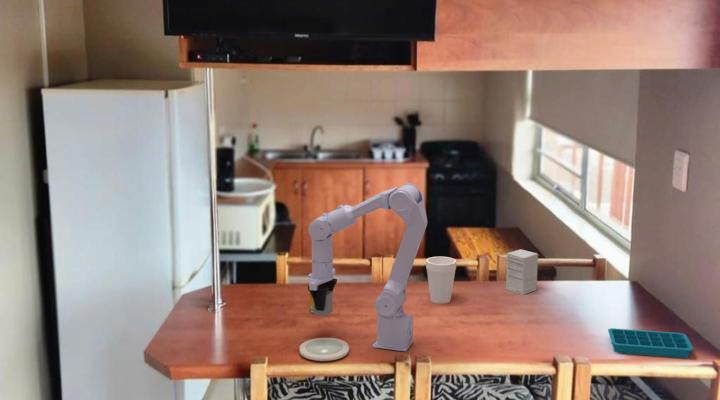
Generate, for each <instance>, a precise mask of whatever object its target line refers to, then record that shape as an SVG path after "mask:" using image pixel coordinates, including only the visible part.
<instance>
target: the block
mask: <svg viewBox="0 0 720 400" xmlns="http://www.w3.org/2000/svg"><path fill="white" fill-rule="evenodd" d="M313 306H314V313H313V316H318V317H329V315H331V314H332V312H333V293H332V291H327V294H326V299H325V307H324V310H323V311H320V310H316V308H315V304H314V300H313Z"/></svg>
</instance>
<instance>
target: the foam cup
mask: <svg viewBox="0 0 720 400" xmlns="http://www.w3.org/2000/svg"><path fill="white" fill-rule="evenodd" d="M425 268H426V274H427V282H428V289H429V298H430V301H431V302H432V303H435V304H441V305H442V304H449V303H450V302H451V299H452V293H453V288H454V287H453V286H454V283H455V281H454V280H455V274H456V270H457V260H456V259H455V258H452V257H449V256H441V255H439V256H432V257H428V258H427V259H425Z"/></svg>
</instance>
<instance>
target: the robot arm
mask: <svg viewBox="0 0 720 400" xmlns="http://www.w3.org/2000/svg"><path fill="white" fill-rule="evenodd" d="M379 209H383V210H386V211H390V210H392V211H393V212H394V213H395V214H396V215H397V216H398V217H400V219H402V221H403V222H404V225H405V226H406V228H405V231H404V233H403V236H402V239H401V242H400V246H399V247H398V251H397V252H396V253H397V254H396V256H395V259H394V262H393V264H392V268H391V271H390V273H389V276H388V279H387V282H385V284H384V287H383V290H382V291H381V294H379V295H378V297H376V299H375V300H374V308H375V310H376V313H377V315H376V317H377V318H376V319H377V323H376V326H377V329H376V330H377V331H376V335H377V336H376V338H377V339H376V341H375V342H374V343H373V344H372V348H377V349H385V350H392V351H400V352H407V351H408V349H409V348H410V346H411V345H412V344H413V343H414V318H413V315H412V314H411V315H410V314H408V313H406V312H405V310H404V307H403V304H405V302H406V299H407V293H406V291H407V290H406V289H407V286H408V284H407V281H408V279H409V276H410V274H411V271H412V269H413V265H414V262H415V260H416V257H417V254H418V251H419V248H420V245H421V242H422V240H423V236H424V234H425V232H426V228H427V226H428V217H427V216H428V215H427V212H426V207H425V196H424V194H423V193H422V192H421V190H420V189H419V187H418V186H417V185H415V184H413V183H410V182H409V183H404V184H402V185H401V186H400V187H399V186H396V187H392V188H390V189H387V190H384V191H382V192H380V193H378V194H376V195H373V196H372V197H370V198H367V199H366V200H364V201H362V202H360V203H359V204H356V205H354V206H351V205H350V204H345V205H343V204H339V205H337V206H336V209H334V210H332V211H329V212H324V213H322V215H321V216H319V217H317V218H316V219H315V218H314V220H313V221H311V222H310V224H309V225H308V227H307V228H308V229H307V230H308V235H309V236H310V238H311V272H310V273H309V274H308V276H307V277H308V278H309V279H310V281H309V283H308V286H307V290H308V291H309V294H310V293H311V295H312V297H313V300H314V304H315V308H316V310H320V311H323V310H324V307H325V299H326V294H327V291H332V294H333V293H334V292H333V291H334V289H335V286H336V284H337V283H338V279H337V278H334V277H335V275H336V268H334V261H333V259H334V255H333V245H334V244H333V234H337V233H339V232H341V231H343V230H346V229H348V228H350V227H352V226H354V225H356V224H357V221H358V218H361V217H362V216H364V215H367V214H369V213H372V212H374V211H376V210H379Z"/></svg>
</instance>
